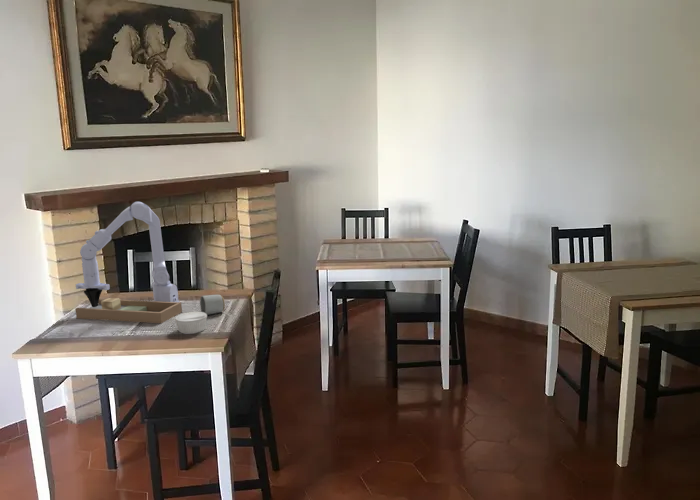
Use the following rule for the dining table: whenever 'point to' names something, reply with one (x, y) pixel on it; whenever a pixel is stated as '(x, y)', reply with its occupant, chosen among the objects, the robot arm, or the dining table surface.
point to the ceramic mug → (212, 304)
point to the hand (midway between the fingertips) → (95, 306)
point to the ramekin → (191, 322)
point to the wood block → (111, 303)
